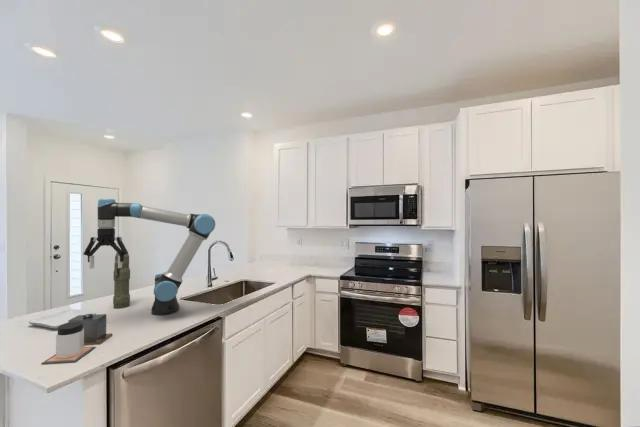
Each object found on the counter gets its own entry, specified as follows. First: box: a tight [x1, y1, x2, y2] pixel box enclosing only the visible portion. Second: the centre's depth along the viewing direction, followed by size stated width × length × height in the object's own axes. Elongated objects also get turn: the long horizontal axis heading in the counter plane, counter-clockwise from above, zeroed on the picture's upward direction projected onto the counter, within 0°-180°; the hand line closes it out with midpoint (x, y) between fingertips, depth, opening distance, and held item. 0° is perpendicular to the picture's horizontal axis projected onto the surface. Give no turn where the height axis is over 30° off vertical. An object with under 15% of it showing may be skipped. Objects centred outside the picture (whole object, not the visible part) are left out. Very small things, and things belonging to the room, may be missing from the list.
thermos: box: [112, 252, 131, 310], centre depth 188 cm, size 9×12×35 cm
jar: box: [55, 322, 85, 359], centre depth 122 cm, size 9×8×12 cm
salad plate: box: [28, 308, 97, 330], centre depth 160 cm, size 21×21×3 cm
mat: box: [41, 345, 96, 366], centre depth 122 cm, size 12×13×1 cm
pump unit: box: [68, 313, 113, 346], centre depth 137 cm, size 16×10×12 cm, turn 98°
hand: (105, 268), depth 154 cm, fingers open, 13 cm apart
